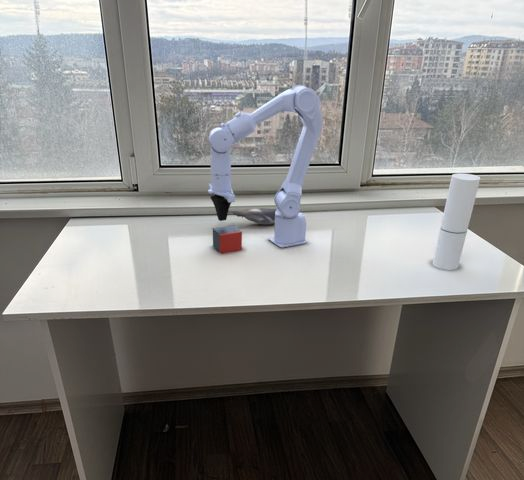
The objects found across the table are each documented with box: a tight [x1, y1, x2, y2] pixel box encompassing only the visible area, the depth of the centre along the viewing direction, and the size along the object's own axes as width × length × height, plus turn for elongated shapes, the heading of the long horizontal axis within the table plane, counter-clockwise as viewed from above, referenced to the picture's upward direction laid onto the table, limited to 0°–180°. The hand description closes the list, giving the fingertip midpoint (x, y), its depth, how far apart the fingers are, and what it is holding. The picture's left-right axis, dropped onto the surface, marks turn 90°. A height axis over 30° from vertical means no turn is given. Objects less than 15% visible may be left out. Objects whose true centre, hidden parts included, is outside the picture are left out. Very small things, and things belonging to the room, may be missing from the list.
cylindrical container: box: [432, 172, 481, 271], centre depth 137 cm, size 7×7×25 cm
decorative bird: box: [228, 207, 277, 225], centre depth 170 cm, size 6×25×5 cm, turn 99°
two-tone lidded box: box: [212, 224, 243, 255], centre depth 150 cm, size 7×6×6 cm
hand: (222, 219), depth 150 cm, fingers closed
